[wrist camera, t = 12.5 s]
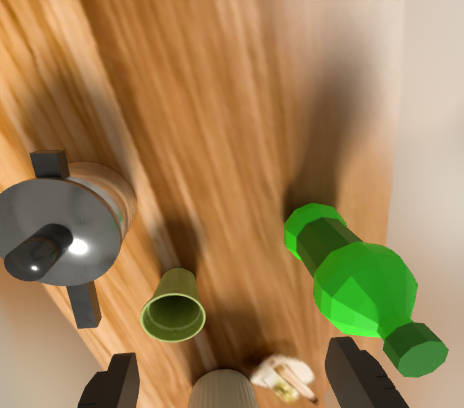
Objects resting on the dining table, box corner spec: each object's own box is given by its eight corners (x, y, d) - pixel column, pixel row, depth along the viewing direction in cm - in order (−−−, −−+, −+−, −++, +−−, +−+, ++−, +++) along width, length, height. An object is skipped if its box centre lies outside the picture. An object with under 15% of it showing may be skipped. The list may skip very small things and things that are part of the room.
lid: (-23, 177, 26) (-90, 199, 20) (112, 176, 28) (88, 196, 22) (16, 282, 31) (-28, 325, 25) (129, 276, 33) (112, 315, 27)
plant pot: (143, 266, 43) (129, 304, 35) (196, 252, 43) (195, 286, 35) (161, 306, 47) (153, 348, 39) (210, 293, 47) (212, 333, 39)
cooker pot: (28, 140, 34) (-29, 153, 25) (129, 141, 35) (106, 154, 27) (68, 288, 43) (36, 333, 35) (147, 284, 44) (134, 327, 36)
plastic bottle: (277, 252, 45) (356, 410, 22) (276, 197, 41) (371, 321, 18) (331, 244, 46) (463, 390, 22) (335, 190, 41) (501, 299, 18)
